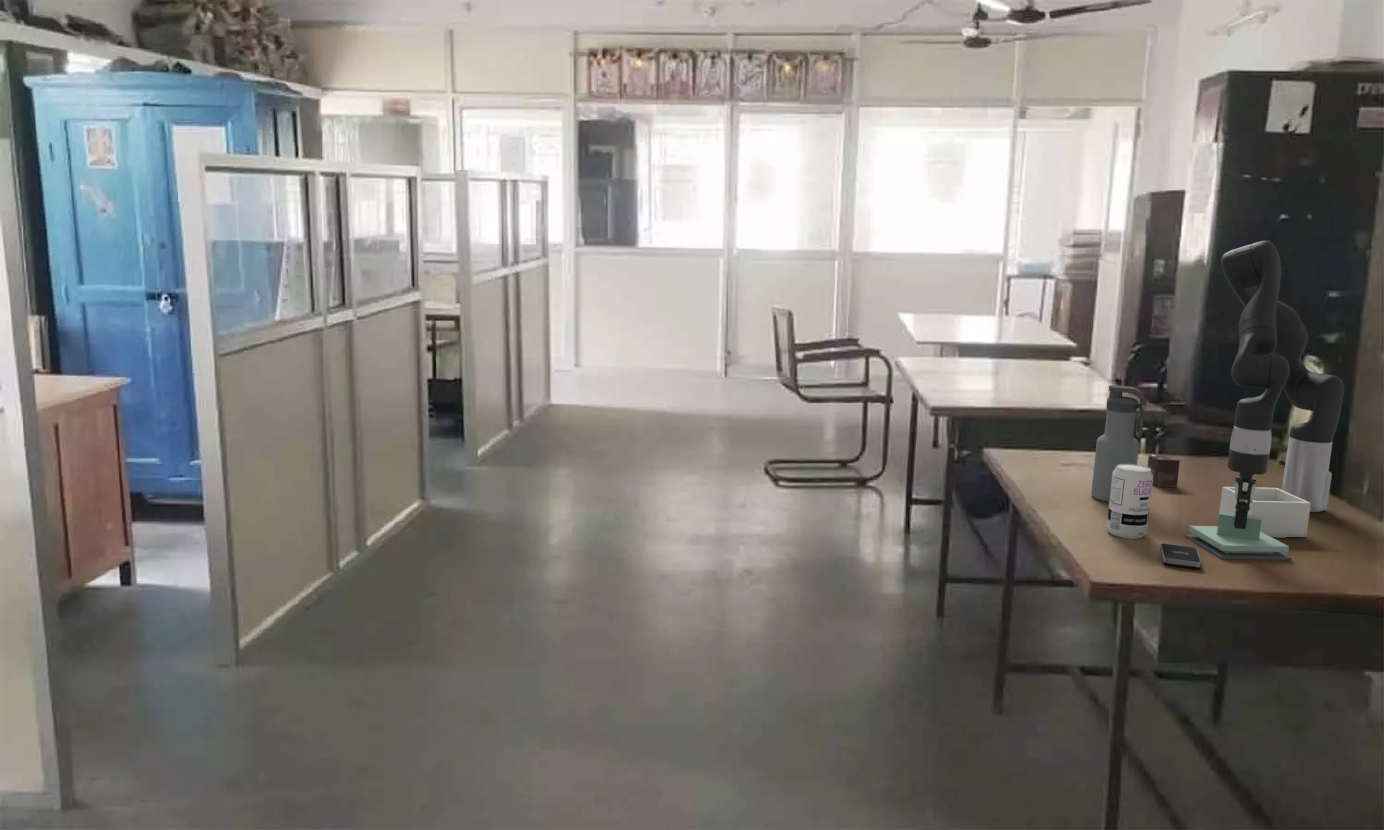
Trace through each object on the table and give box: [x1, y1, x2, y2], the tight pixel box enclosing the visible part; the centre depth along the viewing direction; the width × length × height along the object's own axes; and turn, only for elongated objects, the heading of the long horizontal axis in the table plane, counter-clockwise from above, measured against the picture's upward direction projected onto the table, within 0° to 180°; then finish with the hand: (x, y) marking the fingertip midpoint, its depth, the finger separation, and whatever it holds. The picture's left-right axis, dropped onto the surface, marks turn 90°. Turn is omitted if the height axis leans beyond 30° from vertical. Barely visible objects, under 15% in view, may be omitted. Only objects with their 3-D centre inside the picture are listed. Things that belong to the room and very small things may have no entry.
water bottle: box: [1090, 384, 1147, 503], centre depth 267 cm, size 10×10×28 cm
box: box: [1147, 454, 1181, 488], centre depth 286 cm, size 6×6×7 cm
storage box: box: [1217, 486, 1311, 538], centre depth 246 cm, size 13×13×8 cm
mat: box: [1184, 534, 1293, 561], centre depth 232 cm, size 15×15×1 cm
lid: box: [1188, 511, 1290, 554], centre depth 231 cm, size 14×14×7 cm
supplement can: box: [1106, 464, 1153, 540], centre depth 238 cm, size 8×8×15 cm
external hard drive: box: [1159, 542, 1202, 571], centre depth 222 cm, size 7×11×2 cm, turn 161°
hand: (1239, 523), depth 231 cm, fingers open, 8 cm apart
